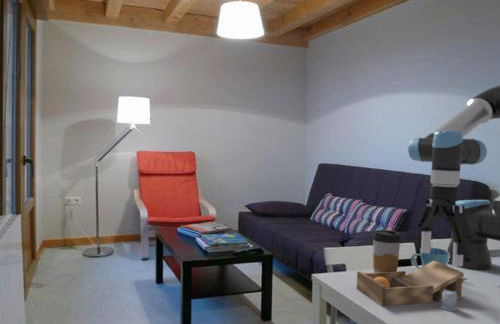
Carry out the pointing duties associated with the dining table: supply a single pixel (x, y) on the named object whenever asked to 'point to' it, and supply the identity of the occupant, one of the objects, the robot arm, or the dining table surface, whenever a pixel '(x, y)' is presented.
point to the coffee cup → (385, 250)
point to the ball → (383, 281)
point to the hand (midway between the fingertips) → (440, 259)
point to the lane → (411, 284)
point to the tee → (449, 300)
